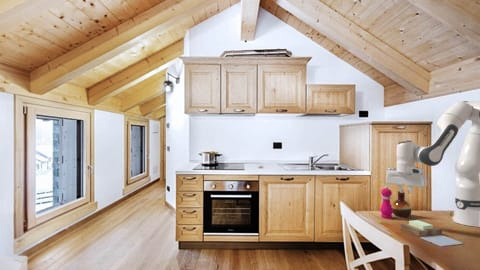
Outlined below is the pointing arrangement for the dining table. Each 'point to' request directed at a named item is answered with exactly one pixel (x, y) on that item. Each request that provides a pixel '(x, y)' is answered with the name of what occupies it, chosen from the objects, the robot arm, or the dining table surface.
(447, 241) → the mat
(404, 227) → the deck
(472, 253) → the dining table surface
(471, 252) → the dining table surface
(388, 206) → the pepper mill
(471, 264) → the dining table surface
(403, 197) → the vase
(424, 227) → the pale green flat block
